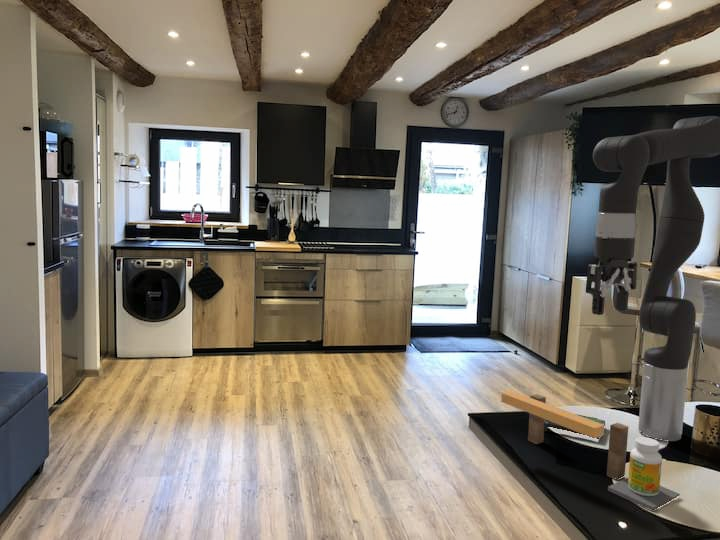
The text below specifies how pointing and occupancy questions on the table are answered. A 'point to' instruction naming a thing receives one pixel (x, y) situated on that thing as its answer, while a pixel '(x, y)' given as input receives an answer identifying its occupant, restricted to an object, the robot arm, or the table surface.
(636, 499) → the book
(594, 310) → the robot arm
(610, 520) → the table surface
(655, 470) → the supplement bottle
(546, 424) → the disk drive
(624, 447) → the stand
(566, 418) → the bar
